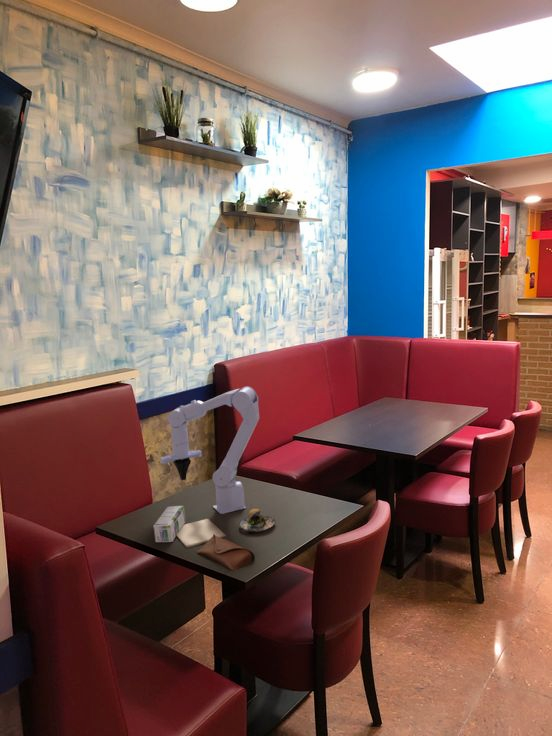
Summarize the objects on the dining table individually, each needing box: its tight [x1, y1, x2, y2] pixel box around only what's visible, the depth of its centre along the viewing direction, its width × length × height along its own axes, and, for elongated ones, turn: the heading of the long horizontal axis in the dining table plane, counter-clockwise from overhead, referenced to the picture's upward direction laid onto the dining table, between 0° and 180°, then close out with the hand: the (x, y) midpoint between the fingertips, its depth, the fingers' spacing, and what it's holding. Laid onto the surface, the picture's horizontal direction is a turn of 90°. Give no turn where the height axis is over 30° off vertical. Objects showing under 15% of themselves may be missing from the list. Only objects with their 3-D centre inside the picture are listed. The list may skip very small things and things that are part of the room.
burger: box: [238, 505, 276, 535], centre depth 189 cm, size 12×12×8 cm
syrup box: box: [153, 505, 186, 543], centre depth 187 cm, size 6×6×14 cm
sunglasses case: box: [196, 534, 256, 571], centre depth 170 cm, size 18×7×7 cm, turn 46°
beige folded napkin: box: [176, 518, 227, 549], centre depth 186 cm, size 13×16×1 cm
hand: (183, 479), depth 207 cm, fingers closed
